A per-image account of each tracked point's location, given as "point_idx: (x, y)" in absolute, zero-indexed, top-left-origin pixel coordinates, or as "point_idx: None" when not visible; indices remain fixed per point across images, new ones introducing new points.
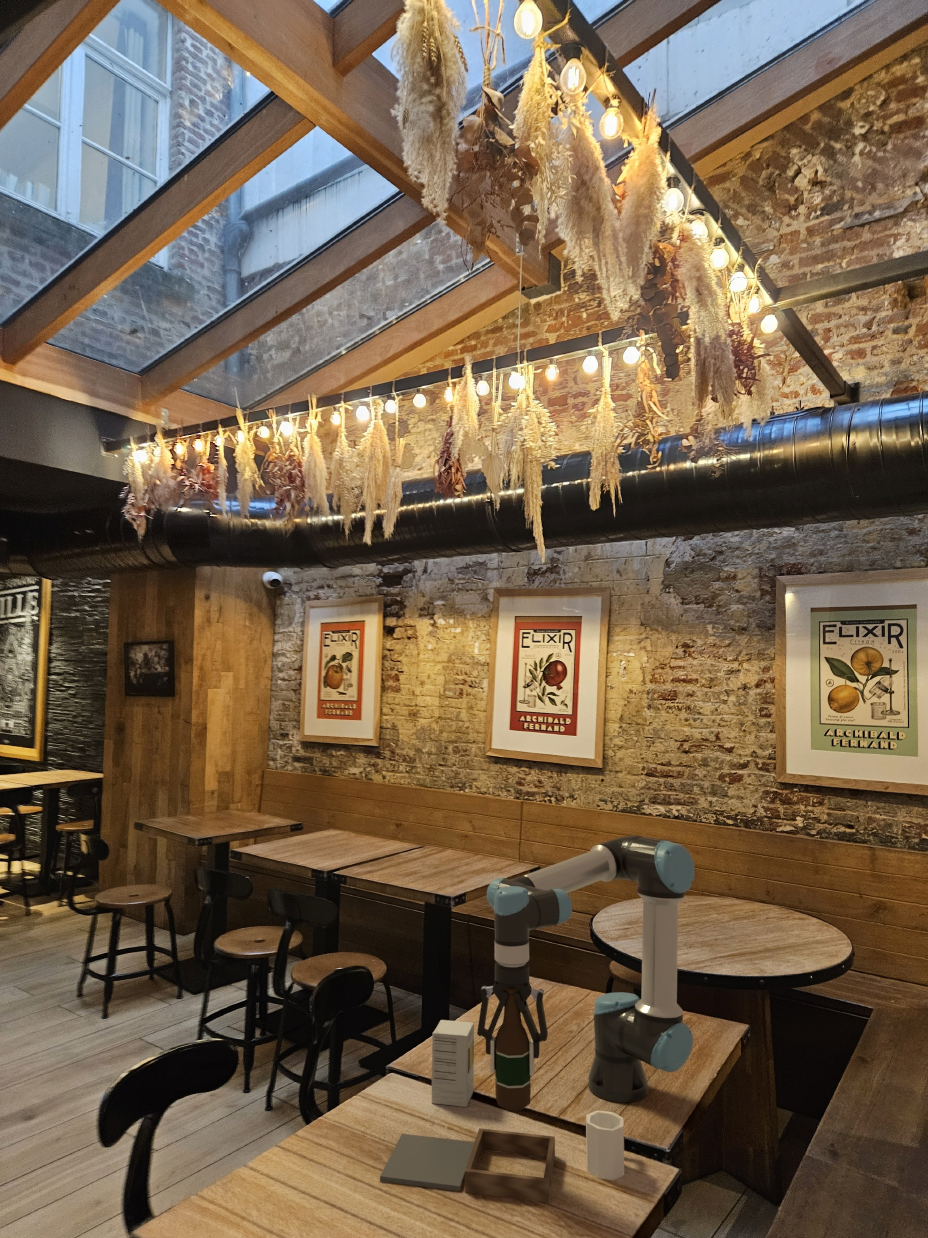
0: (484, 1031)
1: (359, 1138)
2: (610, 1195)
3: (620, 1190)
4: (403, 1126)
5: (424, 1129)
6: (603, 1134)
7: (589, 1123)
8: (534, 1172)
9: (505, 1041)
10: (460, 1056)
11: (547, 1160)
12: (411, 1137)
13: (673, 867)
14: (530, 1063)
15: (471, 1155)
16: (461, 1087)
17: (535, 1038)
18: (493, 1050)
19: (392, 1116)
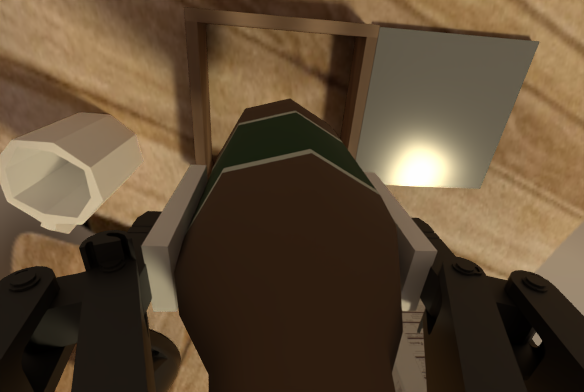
0: (505, 303)
1: (547, 175)
2: (73, 59)
3: (57, 80)
4: (468, 219)
5: (434, 216)
6: (45, 137)
7: (82, 165)
8: (235, 117)
9: (346, 216)
10: (404, 351)
11: (198, 97)
12: (464, 180)
13: None
14: (191, 189)
15: (364, 93)
16: None
17: (104, 278)
18: (396, 220)
19: (483, 242)
